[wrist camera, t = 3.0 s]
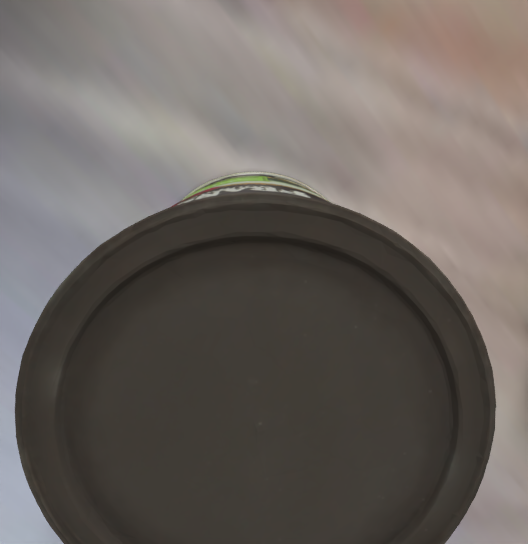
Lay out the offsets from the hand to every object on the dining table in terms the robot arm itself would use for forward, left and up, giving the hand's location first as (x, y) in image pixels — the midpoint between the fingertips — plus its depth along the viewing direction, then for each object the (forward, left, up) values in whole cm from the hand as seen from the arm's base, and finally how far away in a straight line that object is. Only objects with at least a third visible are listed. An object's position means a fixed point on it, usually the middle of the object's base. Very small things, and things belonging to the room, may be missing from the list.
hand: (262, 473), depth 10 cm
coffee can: (0, 0, -15) cm, 15 cm away
